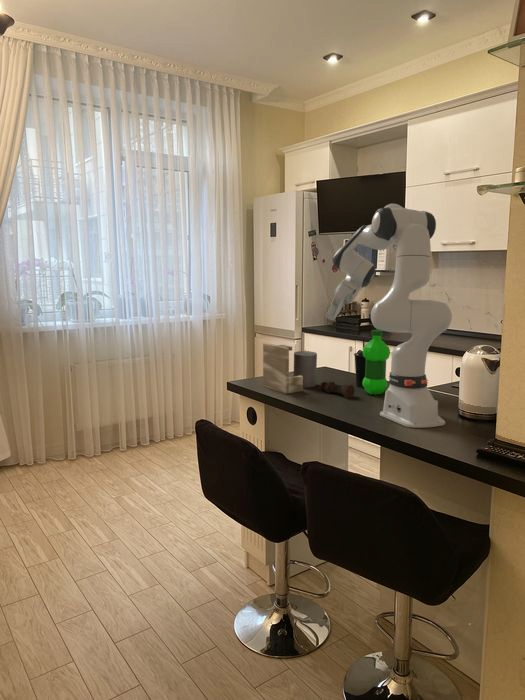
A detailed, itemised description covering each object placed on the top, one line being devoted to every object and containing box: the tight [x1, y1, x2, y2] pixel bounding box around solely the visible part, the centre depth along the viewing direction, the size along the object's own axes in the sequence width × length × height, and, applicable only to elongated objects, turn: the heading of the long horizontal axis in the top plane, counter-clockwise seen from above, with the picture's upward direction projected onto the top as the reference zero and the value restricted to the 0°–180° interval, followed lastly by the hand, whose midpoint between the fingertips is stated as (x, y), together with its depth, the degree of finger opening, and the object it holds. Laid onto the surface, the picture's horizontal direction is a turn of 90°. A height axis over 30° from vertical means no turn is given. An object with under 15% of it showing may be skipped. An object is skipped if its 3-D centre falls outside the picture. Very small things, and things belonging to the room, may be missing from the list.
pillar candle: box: [293, 349, 318, 389], centre depth 224 cm, size 10×10×15 cm
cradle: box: [262, 342, 304, 395], centre depth 218 cm, size 9×16×18 cm, turn 33°
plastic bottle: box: [362, 329, 391, 396], centre depth 210 cm, size 10×10×25 cm
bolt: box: [319, 381, 356, 399], centre depth 211 cm, size 6×5×15 cm
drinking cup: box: [353, 338, 366, 388], centre depth 222 cm, size 8×8×20 cm
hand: (327, 316), depth 222 cm, fingers closed
